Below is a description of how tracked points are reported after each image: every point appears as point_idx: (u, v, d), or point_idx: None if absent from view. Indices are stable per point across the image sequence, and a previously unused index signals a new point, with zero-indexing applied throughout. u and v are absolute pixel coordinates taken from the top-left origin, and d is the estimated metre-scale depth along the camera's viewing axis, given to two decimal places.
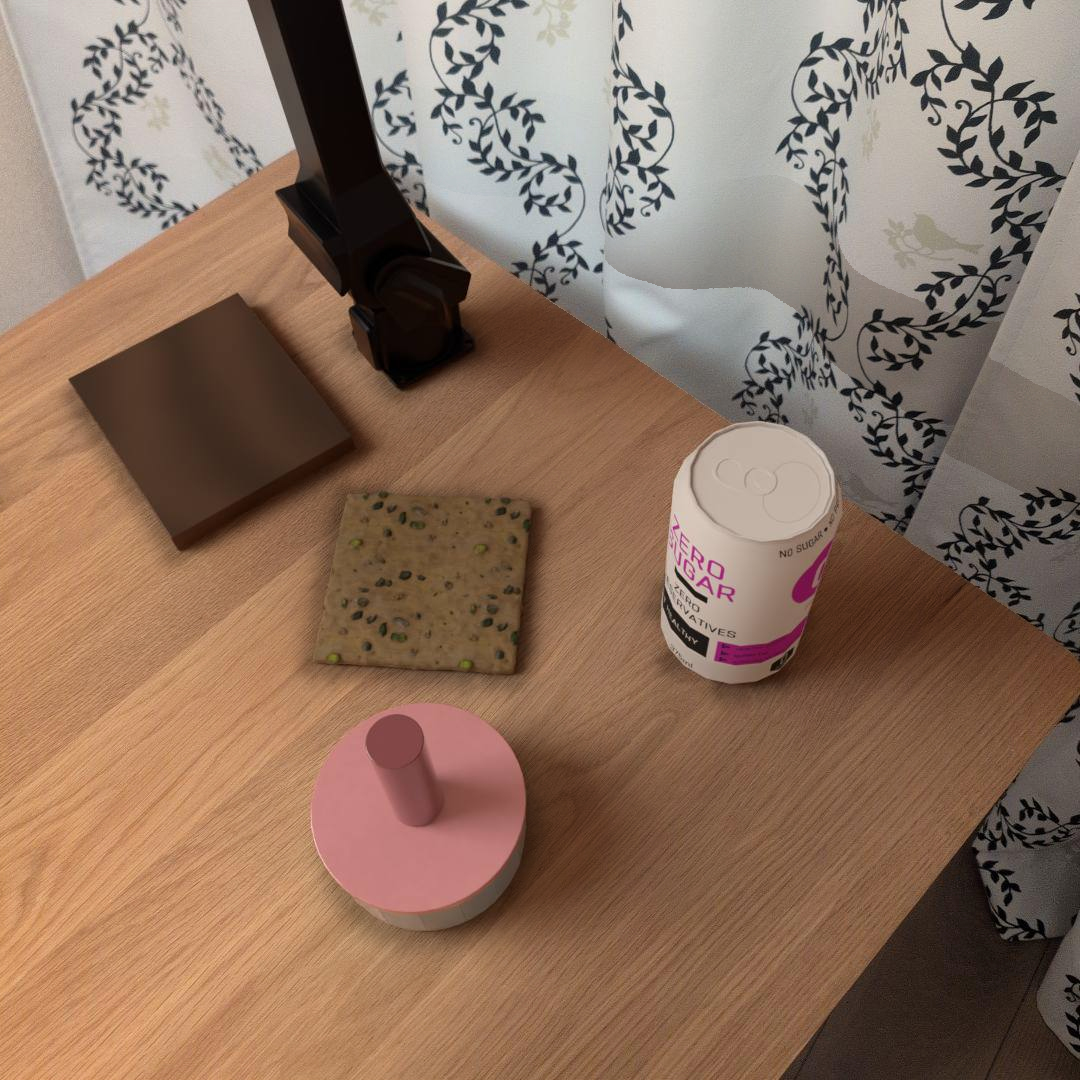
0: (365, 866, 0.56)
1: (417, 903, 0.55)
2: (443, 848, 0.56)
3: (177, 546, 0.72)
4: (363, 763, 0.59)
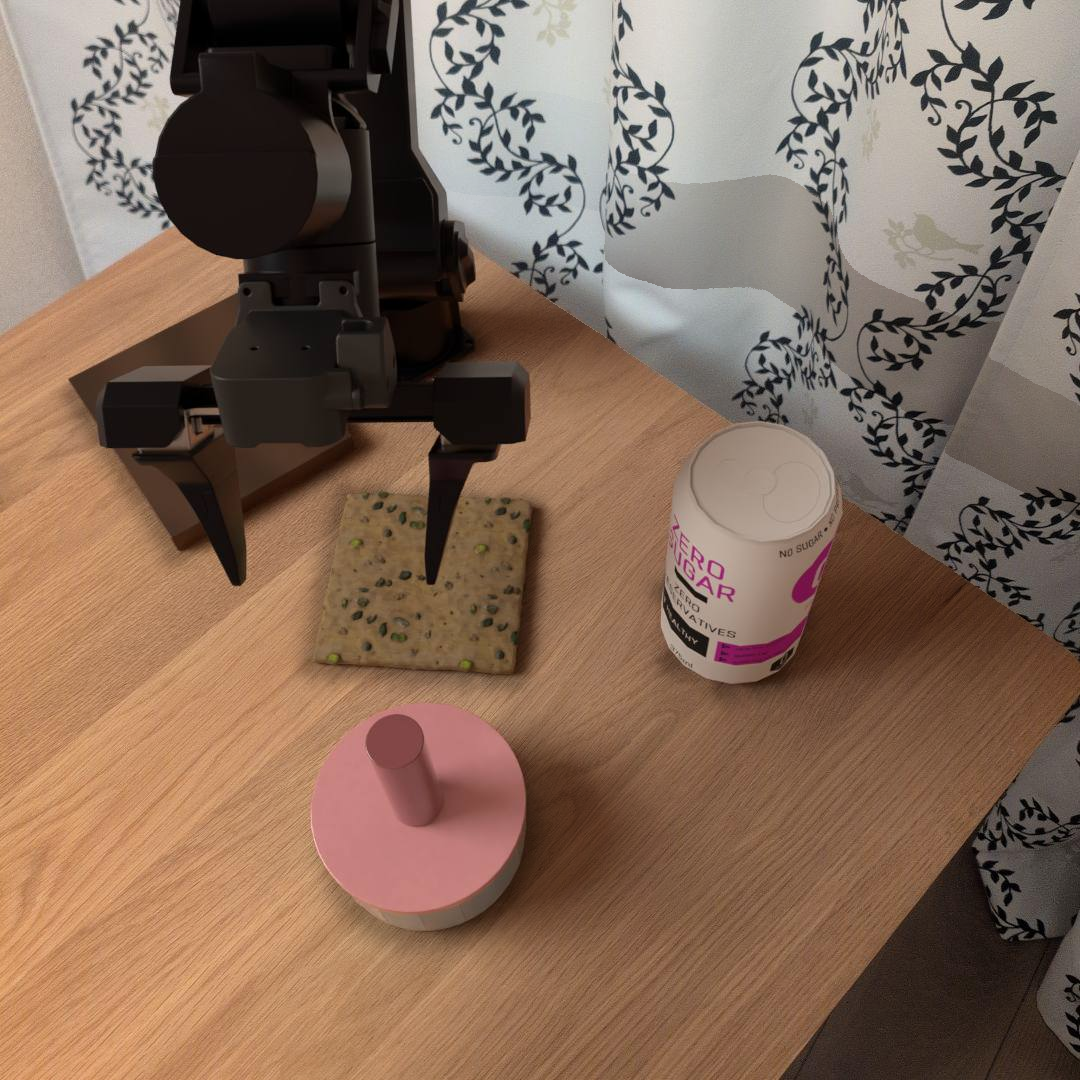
0: (365, 866, 0.56)
1: (417, 903, 0.55)
2: (443, 848, 0.56)
3: (177, 546, 0.72)
4: (363, 763, 0.59)
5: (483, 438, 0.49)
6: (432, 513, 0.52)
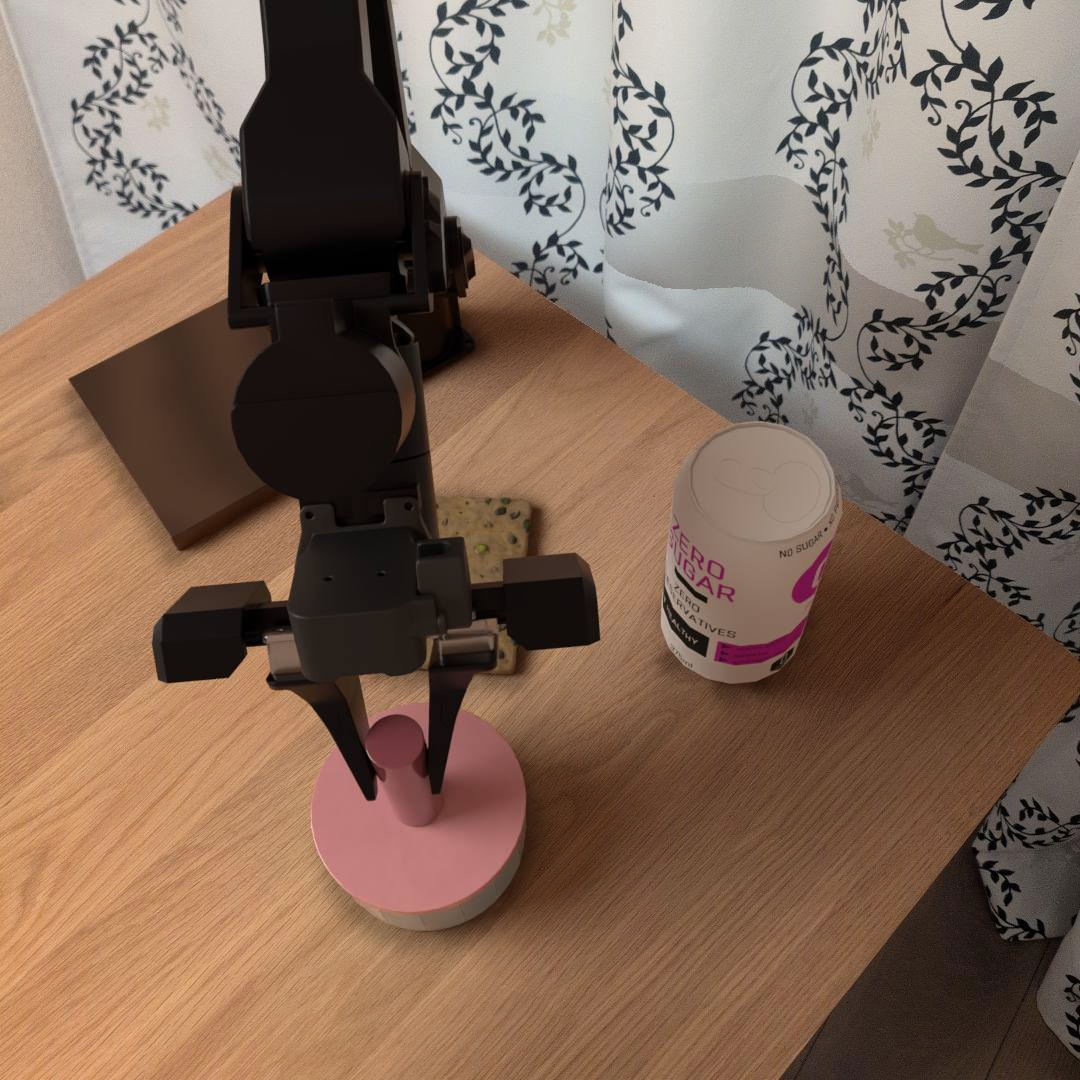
0: (365, 866, 0.56)
1: (417, 903, 0.55)
2: (443, 848, 0.56)
3: (177, 546, 0.72)
4: None
5: (558, 642, 0.48)
6: (434, 724, 0.50)
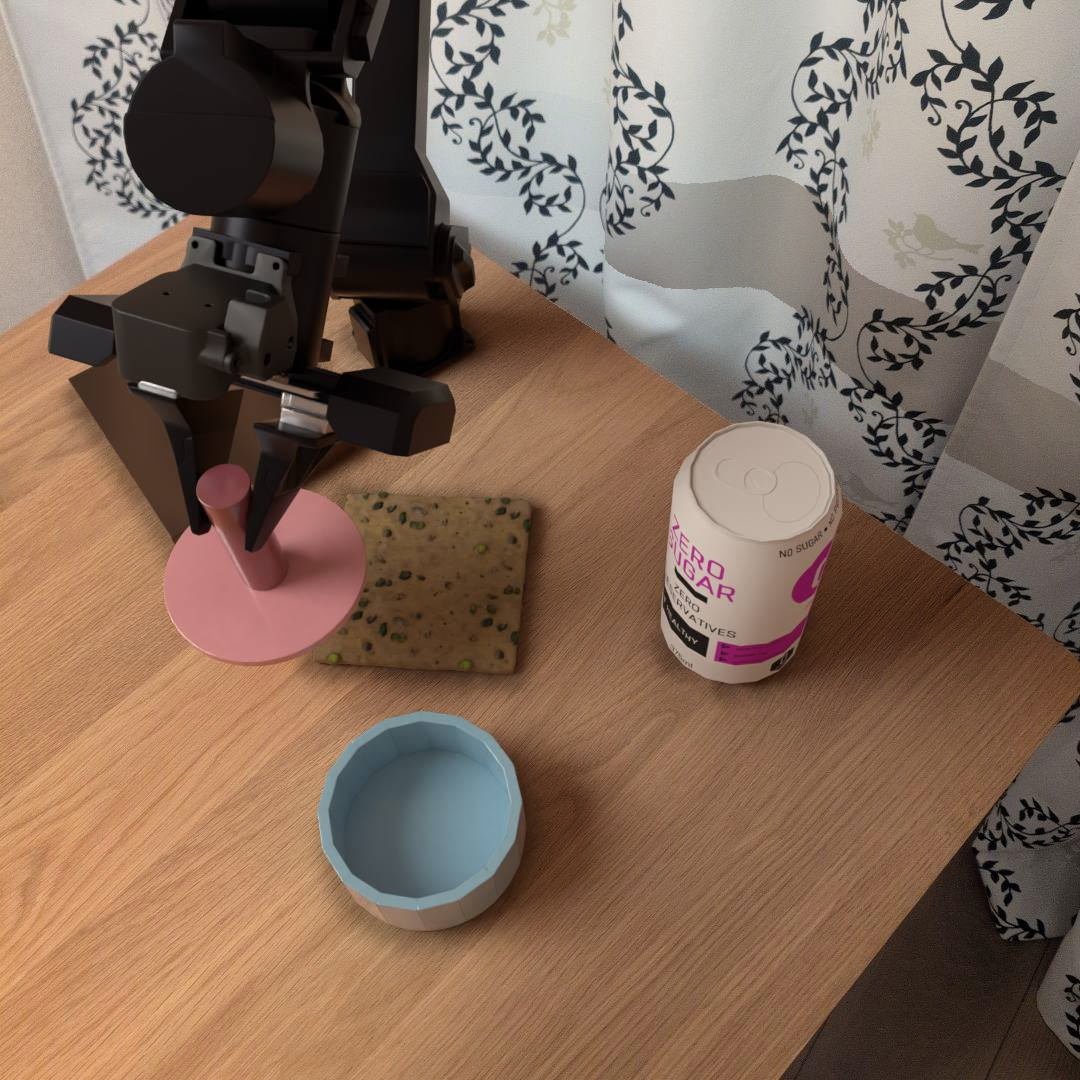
0: (193, 601, 0.60)
1: (216, 648, 0.59)
2: (262, 615, 0.60)
3: None
4: None
5: (366, 442, 0.50)
6: (258, 483, 0.54)
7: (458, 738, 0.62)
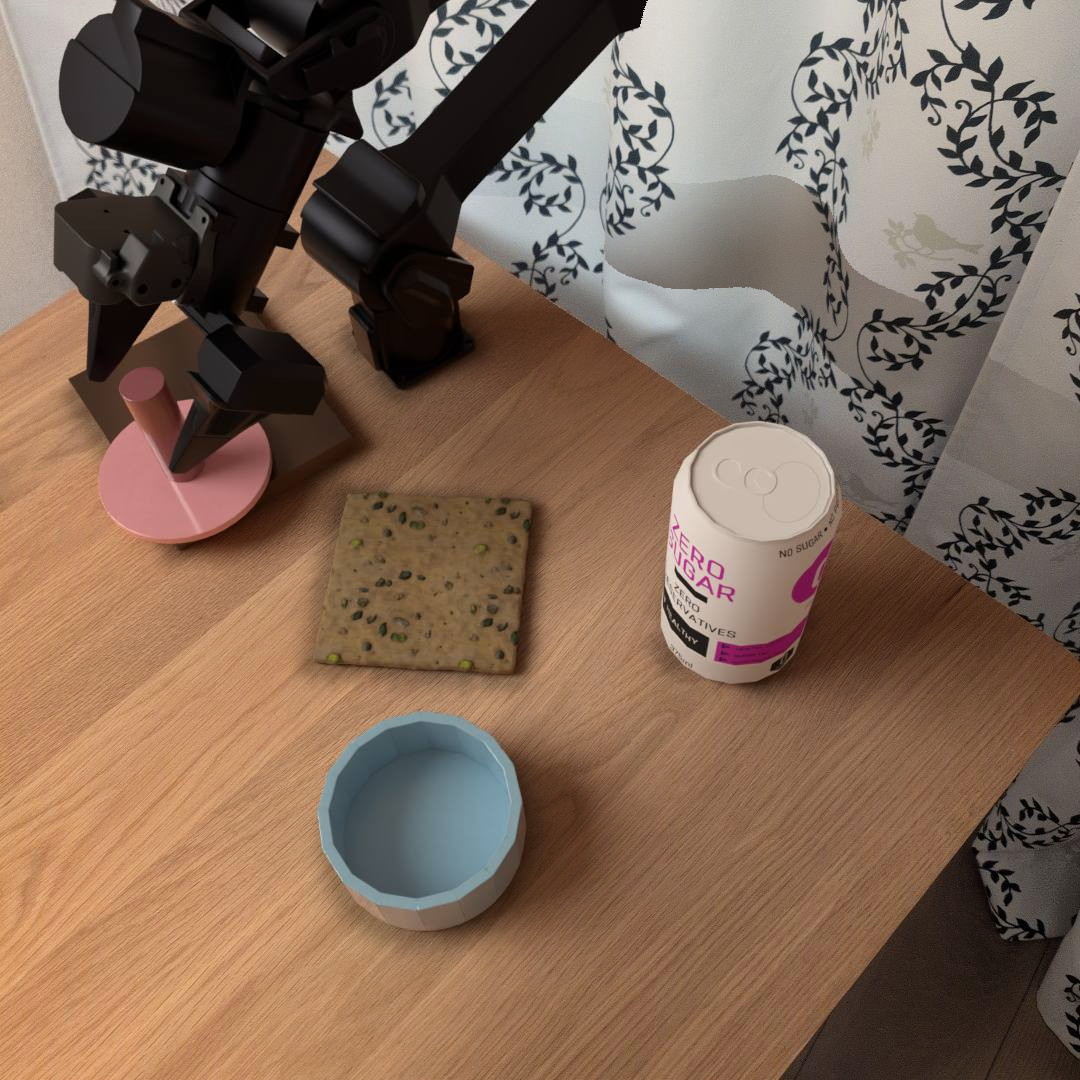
0: (121, 467, 0.72)
1: (114, 509, 0.70)
2: (160, 499, 0.71)
3: (177, 546, 0.72)
4: None
5: (215, 385, 0.58)
6: (188, 420, 0.62)
7: (458, 738, 0.62)
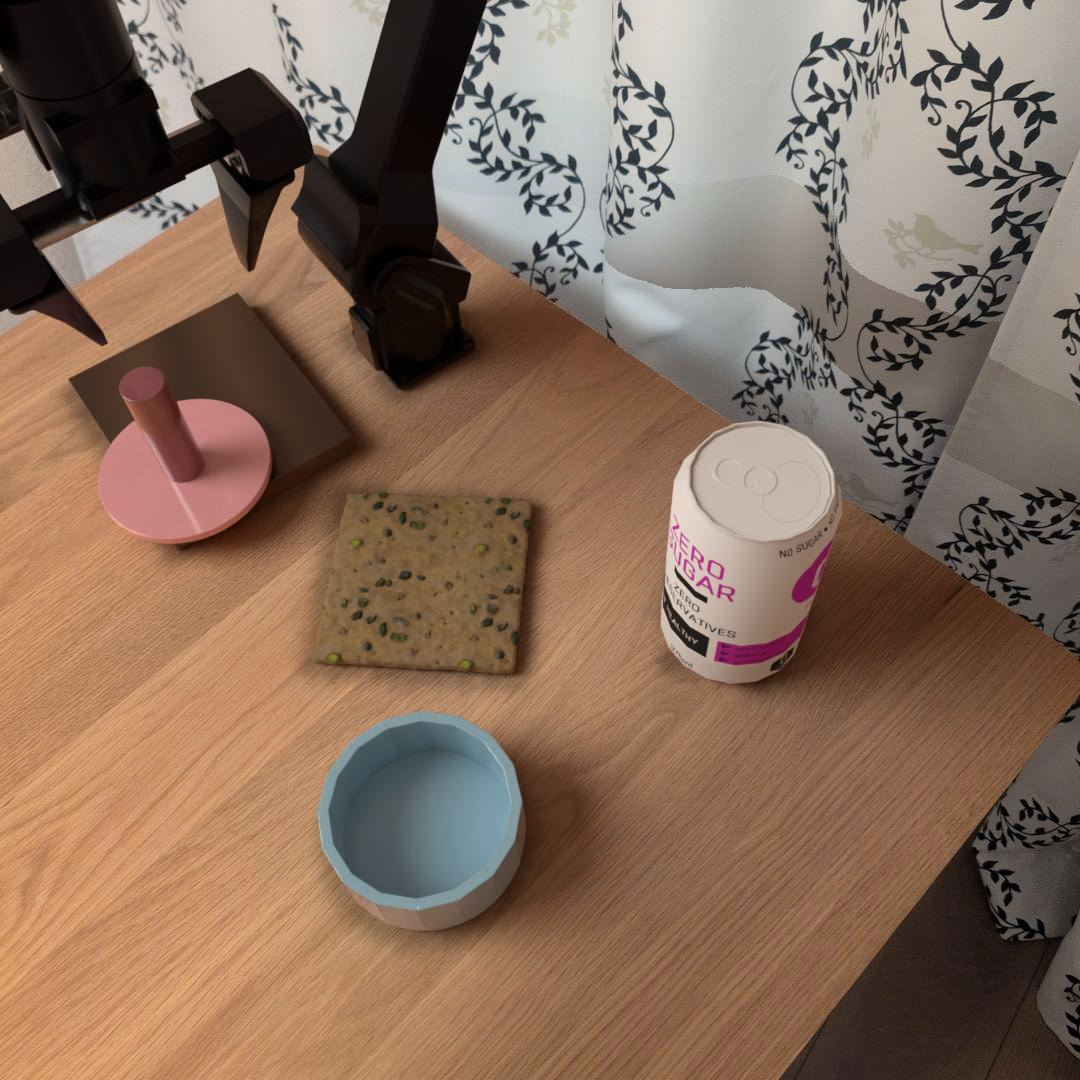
0: (121, 467, 0.72)
1: (114, 509, 0.70)
2: (160, 499, 0.71)
3: (177, 546, 0.72)
4: (191, 420, 0.74)
5: None
6: None
7: (458, 738, 0.62)
